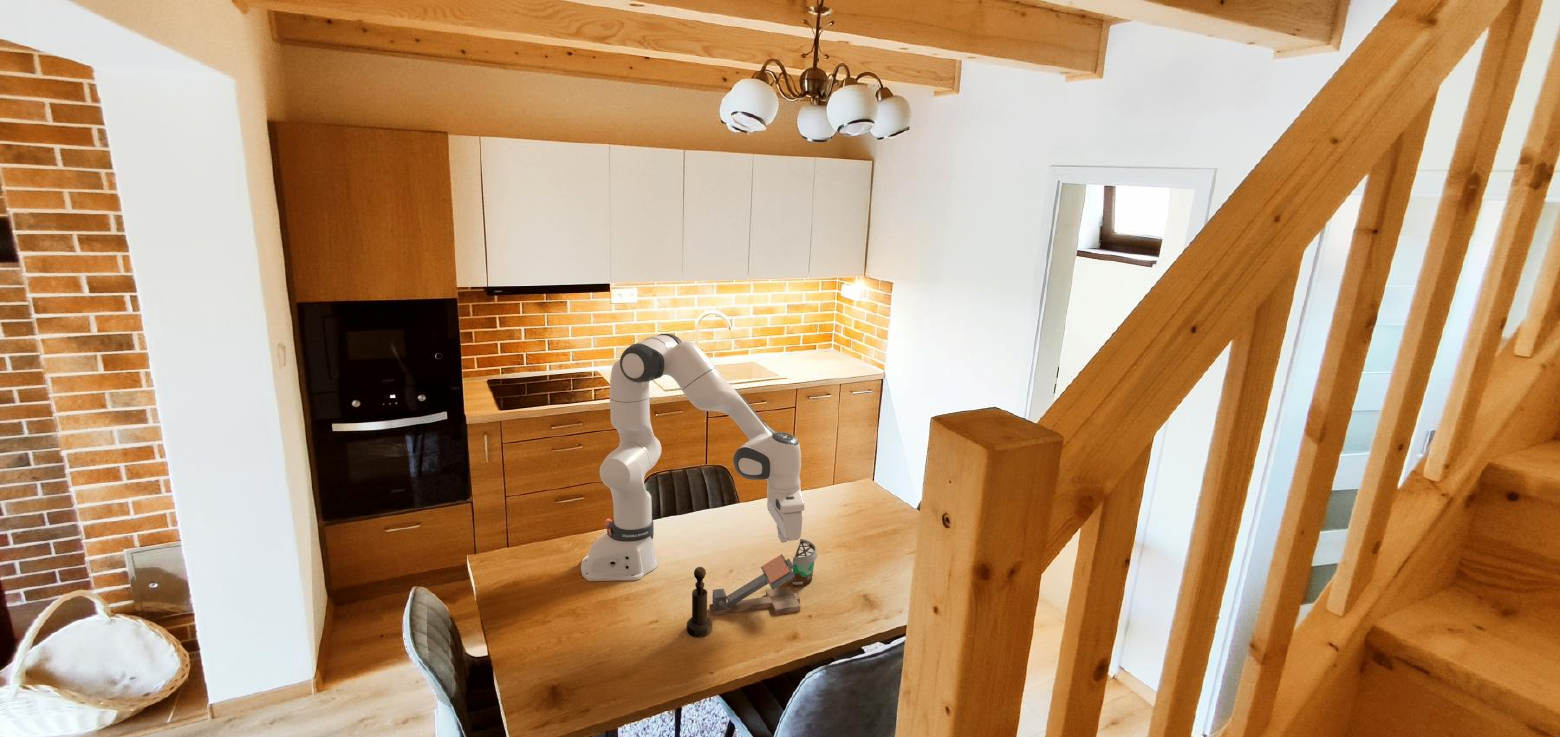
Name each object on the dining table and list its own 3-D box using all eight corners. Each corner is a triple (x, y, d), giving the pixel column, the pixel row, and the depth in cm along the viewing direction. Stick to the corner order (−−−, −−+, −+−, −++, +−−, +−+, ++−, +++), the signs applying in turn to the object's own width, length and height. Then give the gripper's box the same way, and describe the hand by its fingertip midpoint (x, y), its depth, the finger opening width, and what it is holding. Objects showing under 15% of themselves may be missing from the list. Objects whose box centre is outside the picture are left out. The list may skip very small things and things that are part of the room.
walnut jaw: (713, 623, 194) (714, 604, 193) (706, 602, 204) (706, 584, 202) (803, 610, 201) (804, 592, 200) (792, 591, 211) (793, 573, 209)
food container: (812, 592, 210) (814, 560, 208) (791, 589, 212) (792, 558, 209) (819, 570, 222) (820, 540, 220) (799, 567, 223) (800, 537, 221)
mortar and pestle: (699, 619, 196) (700, 558, 191) (717, 629, 192) (718, 567, 187) (681, 630, 191) (681, 568, 186) (699, 641, 187) (699, 577, 182)
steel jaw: (733, 614, 195) (730, 608, 195) (725, 593, 205) (722, 588, 204) (798, 574, 198) (795, 569, 197) (787, 556, 207) (784, 551, 207)
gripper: (762, 479, 205) (761, 524, 208) (783, 510, 186) (781, 559, 189) (783, 476, 207) (782, 522, 210) (806, 507, 188) (805, 556, 191)
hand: (782, 540), depth 199 cm, fingers closed
